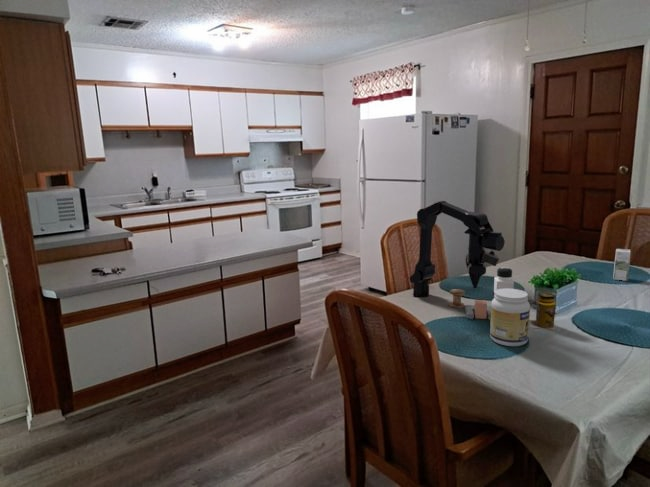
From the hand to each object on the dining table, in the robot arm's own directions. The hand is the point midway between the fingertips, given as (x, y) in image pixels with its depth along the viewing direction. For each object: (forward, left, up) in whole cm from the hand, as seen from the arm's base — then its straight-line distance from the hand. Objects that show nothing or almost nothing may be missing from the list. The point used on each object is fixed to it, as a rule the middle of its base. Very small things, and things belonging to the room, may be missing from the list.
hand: (473, 284), depth 179 cm
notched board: (+2, -4, -11) cm, 12 cm away
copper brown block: (+2, -6, -11) cm, 13 cm away
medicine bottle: (+15, +22, -12) cm, 29 cm away
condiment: (+23, -12, -12) cm, 28 cm away
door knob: (-6, +5, -11) cm, 14 cm away
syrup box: (+72, +51, -12) cm, 89 cm away
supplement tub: (+9, -27, -12) cm, 30 cm away
